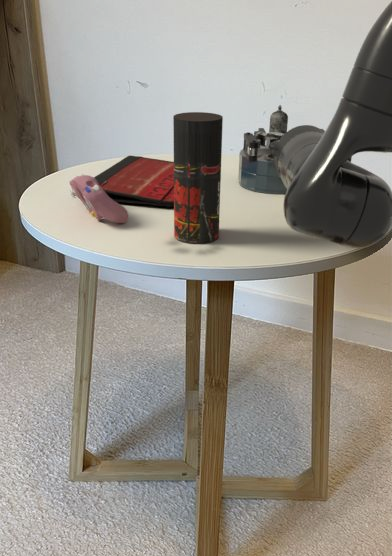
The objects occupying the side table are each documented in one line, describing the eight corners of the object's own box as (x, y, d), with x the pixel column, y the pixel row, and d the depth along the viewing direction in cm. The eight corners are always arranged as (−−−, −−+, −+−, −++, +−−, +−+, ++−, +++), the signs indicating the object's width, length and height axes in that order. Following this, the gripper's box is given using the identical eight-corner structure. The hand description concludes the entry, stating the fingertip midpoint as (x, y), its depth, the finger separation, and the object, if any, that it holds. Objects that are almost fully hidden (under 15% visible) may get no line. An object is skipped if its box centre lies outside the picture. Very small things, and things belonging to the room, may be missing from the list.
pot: (309, 176, 106) (312, 146, 103) (309, 196, 96) (313, 164, 93) (241, 172, 107) (243, 143, 105) (235, 191, 97) (236, 160, 94)
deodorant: (172, 228, 82) (171, 112, 74) (215, 227, 83) (218, 111, 75) (176, 244, 77) (175, 121, 69) (222, 242, 78) (226, 121, 70)
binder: (77, 184, 91) (127, 153, 108) (78, 200, 92) (127, 166, 109) (178, 199, 87) (213, 165, 105) (177, 214, 89) (212, 178, 106)
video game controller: (83, 216, 90) (58, 177, 85) (108, 200, 91) (84, 160, 86) (106, 238, 82) (80, 196, 78) (133, 219, 83) (108, 177, 79)
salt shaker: (274, 174, 105) (280, 100, 98) (298, 181, 101) (306, 105, 94) (249, 179, 101) (253, 104, 95) (273, 187, 97) (280, 109, 91)
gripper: (372, 132, 71) (341, 108, 85) (252, 131, 71) (241, 107, 85) (362, 194, 75) (334, 162, 89) (249, 193, 75) (239, 161, 89)
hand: (289, 135), depth 87 cm, fingers open, 8 cm apart
